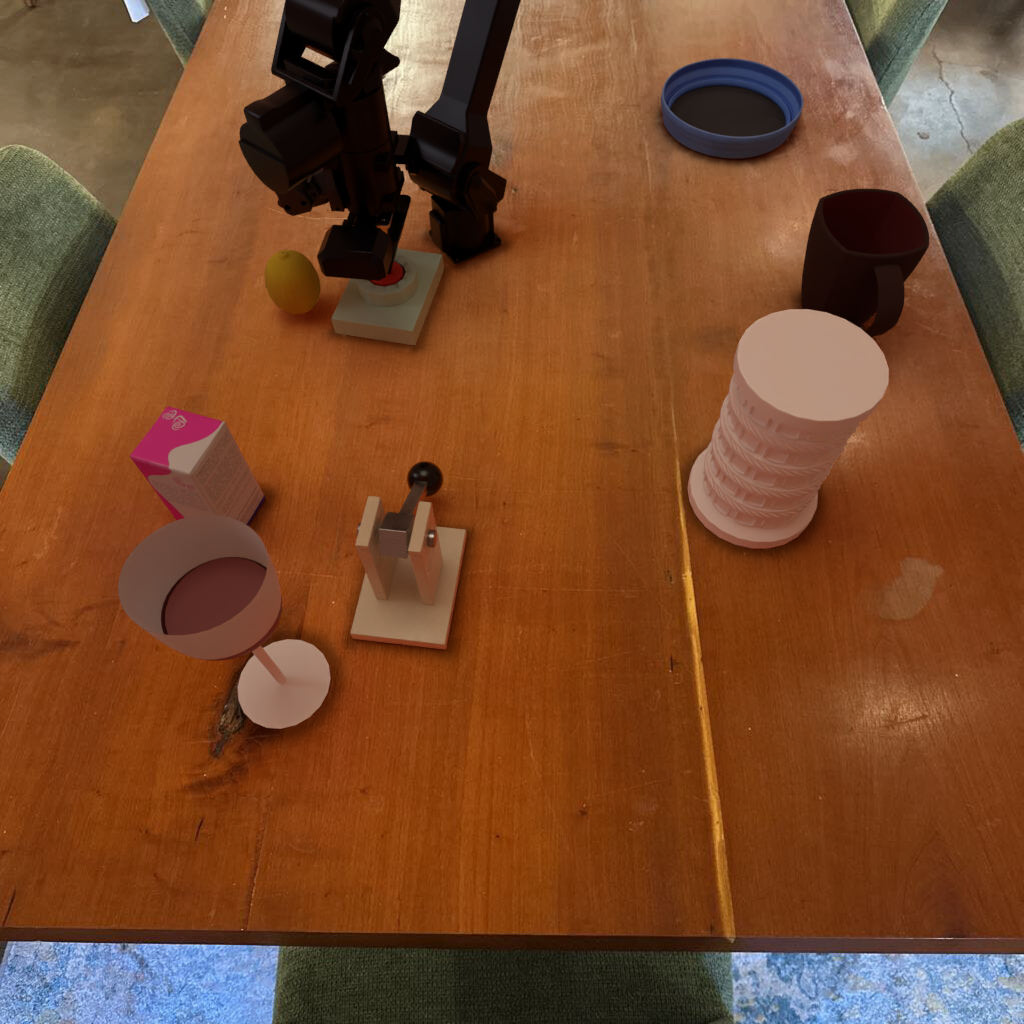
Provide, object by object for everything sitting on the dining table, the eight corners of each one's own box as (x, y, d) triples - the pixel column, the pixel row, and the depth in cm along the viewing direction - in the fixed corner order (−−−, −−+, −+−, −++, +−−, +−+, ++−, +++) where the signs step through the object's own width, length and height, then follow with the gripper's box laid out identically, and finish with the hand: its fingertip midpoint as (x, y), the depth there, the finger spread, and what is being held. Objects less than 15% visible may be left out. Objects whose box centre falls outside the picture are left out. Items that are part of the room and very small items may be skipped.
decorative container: (661, 485, 72) (698, 352, 56) (747, 424, 75) (805, 283, 60) (752, 572, 67) (820, 453, 51) (840, 503, 70) (928, 372, 55)
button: (377, 270, 84) (374, 258, 82) (408, 275, 83) (406, 262, 82) (367, 293, 82) (364, 281, 81) (399, 298, 82) (397, 285, 80)
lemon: (318, 332, 82) (299, 274, 76) (269, 325, 83) (246, 267, 76) (334, 297, 85) (317, 238, 78) (287, 290, 86) (267, 231, 79)
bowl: (815, 108, 103) (824, 81, 100) (762, 180, 95) (770, 154, 92) (693, 69, 108) (698, 43, 105) (634, 135, 100) (637, 108, 97)
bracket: (380, 526, 70) (358, 458, 61) (466, 535, 69) (458, 468, 60) (352, 638, 64) (323, 582, 55) (446, 650, 64) (432, 595, 54)
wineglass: (235, 641, 64) (130, 520, 47) (339, 632, 64) (272, 509, 47) (225, 736, 60) (106, 641, 43) (335, 726, 60) (261, 628, 43)
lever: (411, 485, 70) (411, 453, 68) (446, 489, 70) (446, 457, 68) (372, 559, 59) (371, 523, 57) (413, 564, 58) (413, 527, 57)
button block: (369, 259, 88) (363, 230, 85) (444, 269, 87) (441, 241, 84) (335, 333, 82) (327, 305, 79) (415, 345, 81) (410, 318, 78)
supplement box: (268, 496, 72) (227, 420, 62) (236, 548, 69) (188, 478, 59) (214, 479, 73) (165, 402, 63) (180, 530, 70) (124, 458, 60)
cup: (859, 278, 86) (905, 184, 75) (904, 372, 78) (961, 282, 68) (772, 285, 85) (806, 191, 75) (809, 380, 78) (852, 290, 68)
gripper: (299, 71, 73) (334, 209, 87) (239, 194, 64) (288, 329, 77) (413, 77, 72) (430, 216, 86) (369, 203, 63) (396, 338, 76)
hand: (386, 271), depth 81 cm, fingers closed, pressing on button
